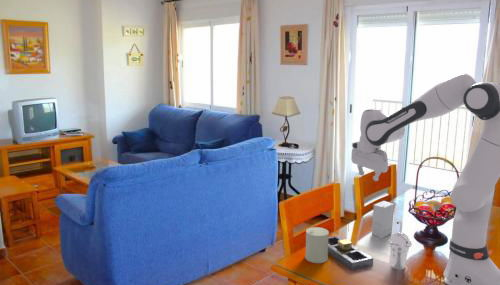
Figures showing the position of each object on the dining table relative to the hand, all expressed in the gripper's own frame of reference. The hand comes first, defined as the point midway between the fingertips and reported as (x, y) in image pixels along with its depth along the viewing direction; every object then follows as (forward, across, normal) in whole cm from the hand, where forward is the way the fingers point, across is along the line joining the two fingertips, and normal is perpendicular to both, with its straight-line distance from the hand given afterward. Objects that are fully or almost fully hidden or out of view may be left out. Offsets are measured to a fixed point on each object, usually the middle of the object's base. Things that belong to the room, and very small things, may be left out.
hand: (368, 177), depth 187 cm
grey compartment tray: (+29, -8, +17) cm, 35 cm away
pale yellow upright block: (+29, -8, +17) cm, 35 cm away
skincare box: (+29, +3, -12) cm, 32 cm away
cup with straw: (+29, -25, +4) cm, 39 cm away
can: (+29, -6, +29) cm, 42 cm away
